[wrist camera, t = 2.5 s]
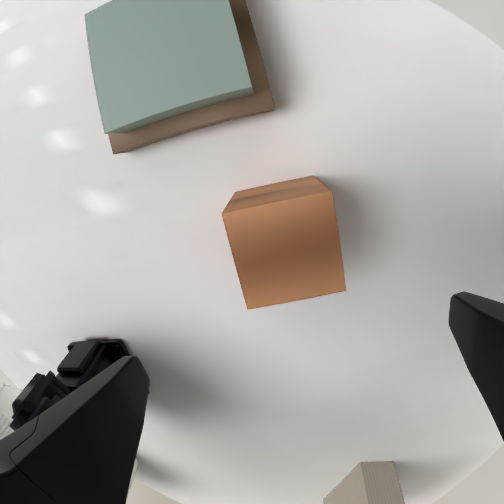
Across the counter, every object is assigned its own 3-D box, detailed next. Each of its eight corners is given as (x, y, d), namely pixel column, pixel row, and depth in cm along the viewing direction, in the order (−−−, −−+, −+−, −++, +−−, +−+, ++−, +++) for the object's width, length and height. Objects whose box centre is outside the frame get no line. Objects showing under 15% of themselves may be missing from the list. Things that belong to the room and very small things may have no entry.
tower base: (273, 111, 18) (274, 107, 16) (129, 151, 20) (113, 154, 17) (238, -16, 15) (234, -33, 13) (104, 30, 16) (88, 21, 14)
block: (326, 249, 21) (345, 290, 15) (253, 264, 21) (247, 309, 16) (313, 175, 19) (331, 191, 13) (235, 191, 20) (221, 213, 14)
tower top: (254, 94, 16) (251, 86, 13) (124, 133, 17) (104, 133, 14) (223, -18, 13) (217, -37, 11) (103, 25, 14) (84, 14, 12)
